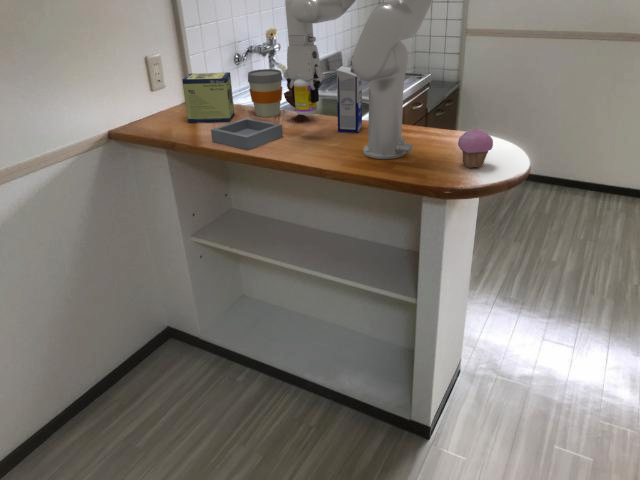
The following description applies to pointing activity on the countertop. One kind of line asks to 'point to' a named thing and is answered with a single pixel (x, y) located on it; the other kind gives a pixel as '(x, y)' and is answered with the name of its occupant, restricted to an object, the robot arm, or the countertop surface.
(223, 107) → the protein box
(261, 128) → the gray rectangular tray
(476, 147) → the cupcake
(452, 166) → the countertop surface
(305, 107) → the supplement bottle
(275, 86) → the reusable coffee cup
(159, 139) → the countertop surface
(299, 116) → the ice cream bowl
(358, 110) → the milk carton
